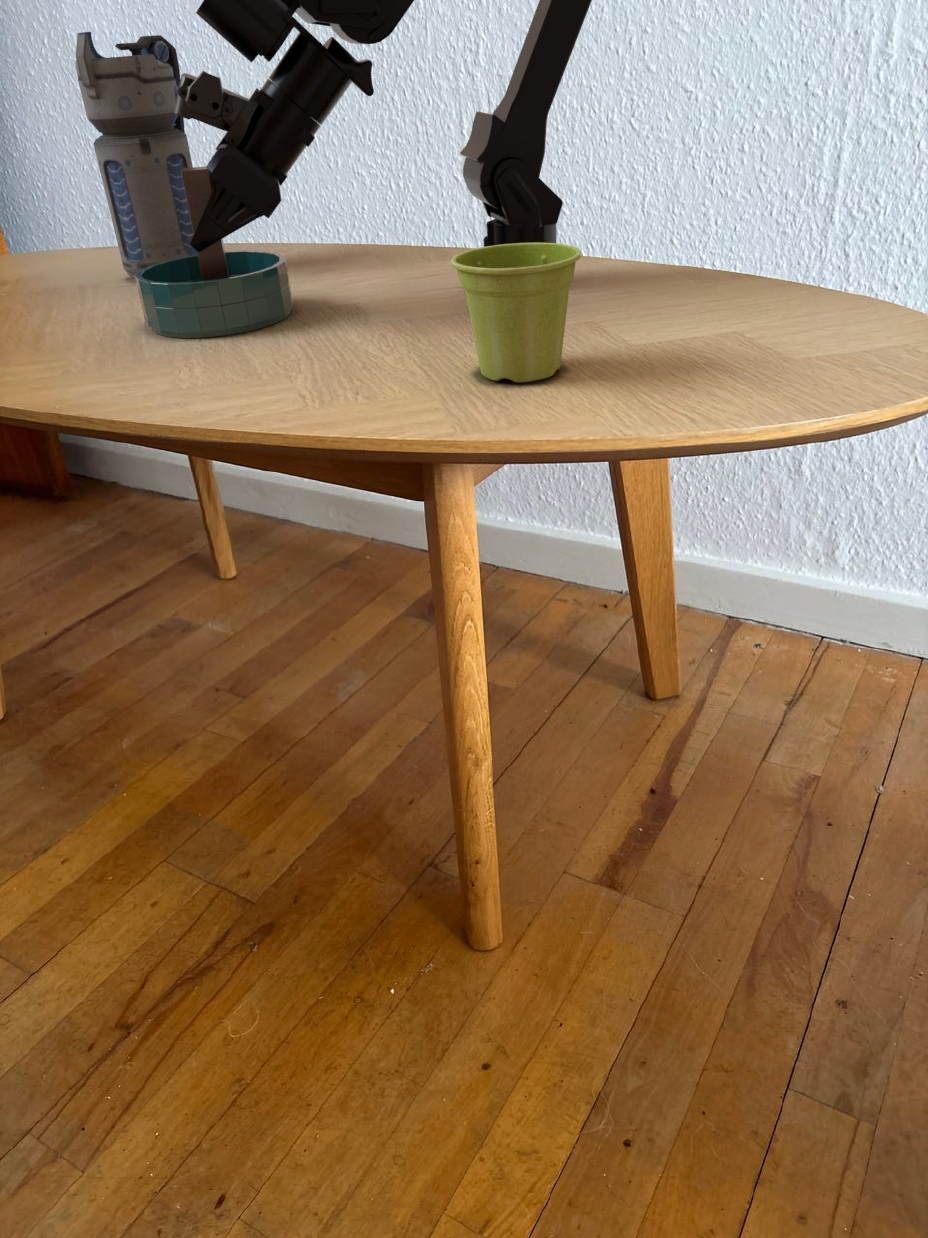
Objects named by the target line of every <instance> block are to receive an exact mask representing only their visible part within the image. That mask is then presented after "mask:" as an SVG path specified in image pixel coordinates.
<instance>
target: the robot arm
mask: <svg viewBox="0 0 928 1238" xmlns="http://www.w3.org/2000/svg"><path fill="white" fill-rule="evenodd" d="M414 1H415V0H203V1H202V2H201V4H200V5H199V7H198V8H197V10H196V12H195V14H196V15H198V16H199V18H200V19H202V20H203V21H204V22H205V23H207V24H208V25H209V26H210V27H211V28H212V29H213V30H214V31H215V32H216V33H217V34H218V35H220V37H222V38H223V39H224V40H226V42H228V44H230V45H231V46H232V47H233V48H234V49H235V50H236V51H238V53H240V54H241V55H242V56H243V57H244V58H245V59H247V61H249V63H253V62H254V61H255V60H256V58H257V57H258V56H259V57H263V59H265V61H267V62H268V63H270V62H271V61H272V60H273V58H274V57H275V56H276V54H278V52H279V50H280V49H281V47H282V46H283V45H284V43H285V42H286V40H287V39H288V37H289V35H290V34H291V32H292V31H293V29H295V30H296V31H297V32H298V34H297V35H296V37H295V39H294V40H293V41H292V43H291V45H289V47H288V49H287V50H286V51H285V53H284V54H283V56H282V58H281V59H280V60H279V62H278V64H277V65H276V66H275V67H274V68H273V70H272V72H271V73H270V75H269V77H268V78H267V80H266V81H265V82H264V84H263V85H262V86H261V88H260V89H259V88H258V87H256V88H255V90H254V91H253V93H252V94H251V95H250V97H245V96H243V95H240V94H238V93H236V92H234V91H231V90H229V89H227V88H224V87H223V84H222V79H221V77H219V76H216V75H214V74H210V73H209V72H207V71H205V70H202V71H201V72H200V73H199V74H198V76H195V75H191V74H189V73H186V72H184V73H182V74H180V84H179V89H178V94H177V98H176V103H175V108H174V113H175V114H177V115H179V116H181V117H183V118H184V119H187V120H191V119H193V120H196V121H198V122H200V123H203V124H206V125H208V126H211V127H213V128H216V129H219V130H222V131H223V132H225V134H224V136H222V138H221V140H220V141H219V142H218V144H217V146H216V148H215V153H214V154H213V155H212V157H211V158H210V160H209V161H208V163H207V165H206V166H207V172H208V175H209V180H210V185H211V189H212V192H211V195H210V198H209V200H208V202H207V205H206V207H205V209H204V212H203V214H202V216H201V219H200V221H199V223H198V226H197V228H196V230H195V233H194V235H193V237H192V240H191V242H190V245H191V247H193V248H194V249H195V250H197V251H198V252H201V251H202V250H204V249H206V248H207V247H209V246H211V245H213V244H214V243H216V242H218V241H219V240H221V239H223V240H224V238H226V237H228V236H229V235H231V234H233V233H235V232H236V231H238V230H240V229H241V228H243V227H245V226H247V225H249V224H250V223H252V222H254V221H256V220H257V219H259V218H263V216H264V217H266V218H267V219H270V217H271V216H272V215H273V213H274V212H275V211H276V209H277V207H278V206H279V205H280V204H281V202H282V191H281V187H280V186H282V185H283V183H284V182H285V181H286V179H287V178H288V173H289V172H290V170H291V169H292V167H293V166H294V165H295V163H296V162H297V160H298V159H299V158H300V156H301V155H302V153H303V152H304V150H305V149H306V148H309V147H310V146H311V144H312V143H313V141H314V139H315V138H316V136H315V135H316V134H317V132H318V131H319V129H320V128H321V126H322V125H323V124H324V122H325V121H326V119H327V118H328V117H329V115H330V114H331V113H332V111H333V110H334V109H335V107H336V105H337V104H338V103H339V101H340V100H341V98H342V97H343V96H344V94H345V92H346V91H347V90H348V88H349V87H350V85H351V84H353V85H354V86H355V87H357V88H358V90H359V91H361V93H363V94H364V95H366V96H367V97H372V96H374V93H375V89H374V85H373V79H372V77H373V76H372V72H373V71H372V69H373V65H374V64H373V62H372V61H371V59H368V58H365V59H362V60H357V59H356V58H355V57H354V55H352V54H351V53H350V52H349V51H348V50H347V49H346V48H345V47H344V46H343V45H342V44H341V43H340V42H339V41H338V40H337V39H336V38H335V37H333V36H330V37H329V38H328V39H327V40H326V41H325V43H321V42H320V41H319V39H317V38H316V37H315V36H314V35H313V34H312V33H311V32H309V30H308V29H306V28H305V26H304V25H302V24H301V23H300V22H299V21H298V19H296V18H295V17H294V14H296V15H297V16H299V17H300V18H301V19H302V20H303V22H304V23H306V24H311V25H316V26H322V27H323V26H324V27H330V28H331V29H332V31H333V32H334V33H335V34H336V35H337V36H338V37H339V38H340V39H341V40H344V41H345V42H347V43H349V44H352V45H353V44H354V45H374V44H377V43H381V42H382V41H384V40H385V39H387V38H388V37H390V35H391V34H392V33H393V32H394V30H395V29H396V27H397V26H399V23H400V22H401V21H402V19H403V18H404V16H405V15H406V13H407V11H409V9H410V7H412V5H413V4H414ZM592 1H593V0H539V1H538V3H537V6H536V8H535V12H534V14H533V17H532V20H531V22H530V25H529V28H528V31H527V34H526V36H525V38H524V42H523V44H522V47H521V49H520V53H519V55H518V57H517V61H516V63H515V66H514V69H513V72H512V74H511V77H510V80H509V82H508V84H507V85H508V86H507V88H506V90H505V92H504V93H505V94H504V96H503V98H502V100H501V101H500V103H499V104H498V105H497V107H495V109H494V111H493V112H492V113H488V112H487V113H486V112H484V111H476V112H475V115H474V118H473V121H472V126H471V131H470V136H469V139H468V140H467V142H466V145H465V146H464V147H463V148H462V150H460V153H459V154H460V156H463V157H465V158H464V161H463V167H462V177H463V179H464V182H465V185H466V189H467V190H468V191H469V193H471V195H472V196H473V197H475V198H476V199H478V200H479V201H481V203H482V206H483V208H484V210H485V213H486V216H487V217H489V218H493V219H491V220H489V221H487V222H486V236H484V237H483V239H482V240H483V241H482V242H483V247H487V246H494V245H502V244H515V243H557V241H558V239H557V224H558V221H559V218H560V214H561V211H562V207H563V203H564V202H563V200H562V198H560V196H559V195H558V194H556V193H555V192H554V191H553V190H552V189H551V187H549V186H548V184H546V183H545V182H544V181H543V180H542V179H541V178H540V176H541V172H542V168H543V163H544V158H545V154H546V145H547V143H546V141H547V126H548V125H547V123H548V117H549V114H550V111H551V107H552V105H553V102H554V99H555V98H556V94H557V92H558V89H559V87H560V84H561V81H562V79H563V76H564V74H565V72H566V70H567V69H566V68H567V66H568V64H569V61H570V58H571V55H572V53H573V50H574V48H575V45H576V42H577V40H578V37H579V34H580V32H581V30H582V26H583V25H584V22H585V19H586V16H587V14H588V12H589V9H590V6H591V4H592Z"/></svg>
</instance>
